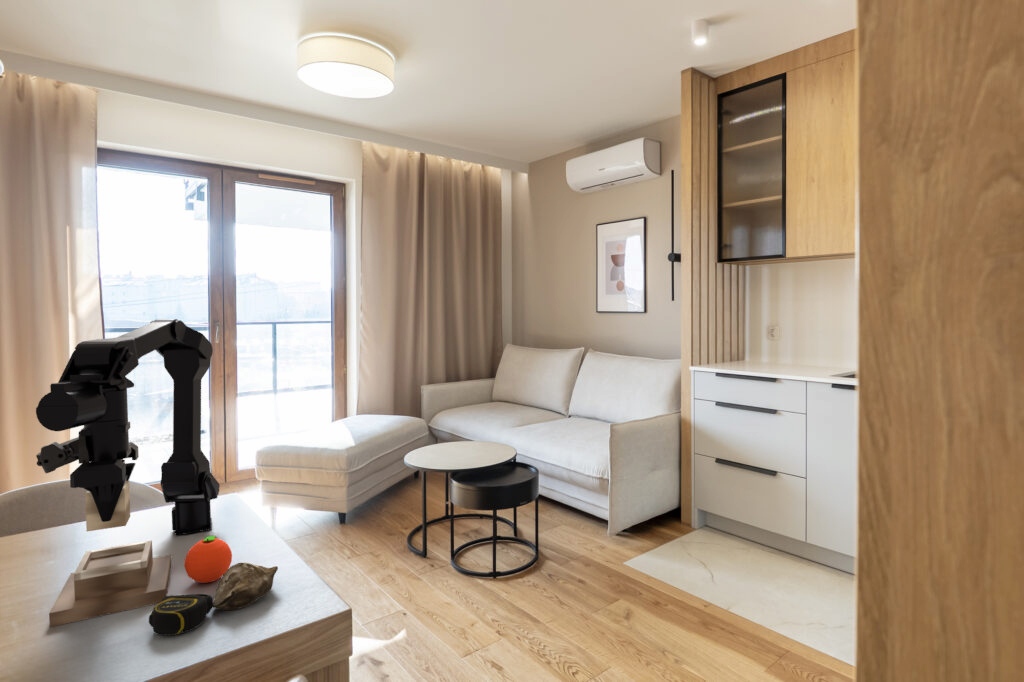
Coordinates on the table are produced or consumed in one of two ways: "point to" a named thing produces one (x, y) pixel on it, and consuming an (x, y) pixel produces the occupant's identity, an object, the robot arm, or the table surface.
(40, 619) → the table surface
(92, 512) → the maple block
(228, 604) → the fossilized seashell
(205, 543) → the clementine
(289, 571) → the table surface
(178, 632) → the tape measure
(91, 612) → the tower base
